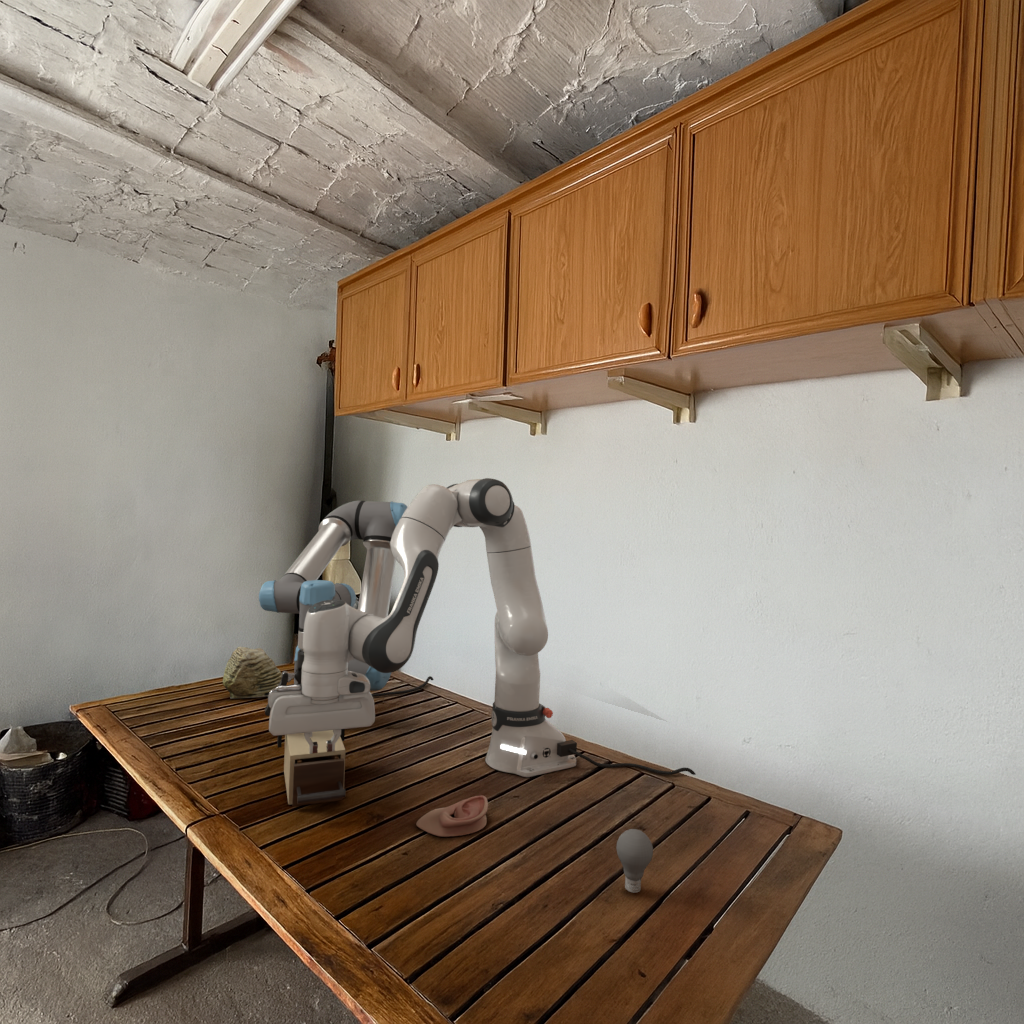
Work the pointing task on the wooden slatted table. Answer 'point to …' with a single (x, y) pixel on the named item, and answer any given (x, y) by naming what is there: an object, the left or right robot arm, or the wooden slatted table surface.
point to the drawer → (318, 780)
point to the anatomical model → (456, 818)
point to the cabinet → (307, 753)
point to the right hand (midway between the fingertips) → (321, 751)
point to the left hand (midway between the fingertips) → (311, 742)
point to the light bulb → (634, 857)
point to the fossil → (250, 673)
